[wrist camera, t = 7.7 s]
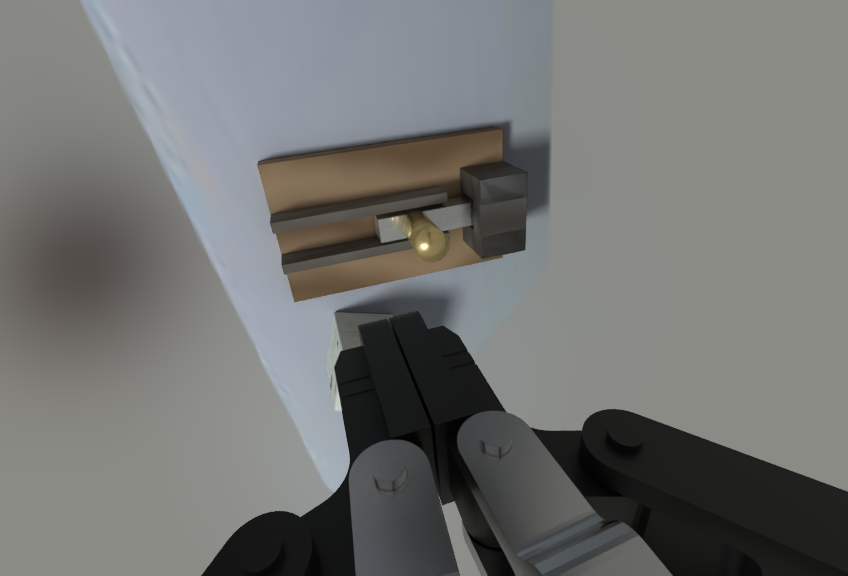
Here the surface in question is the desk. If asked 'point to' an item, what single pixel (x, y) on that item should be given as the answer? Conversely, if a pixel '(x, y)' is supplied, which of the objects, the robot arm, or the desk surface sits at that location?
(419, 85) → the desk surface
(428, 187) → the plate
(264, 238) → the desk surface
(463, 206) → the slide latch
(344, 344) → the skincare box
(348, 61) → the desk surface
